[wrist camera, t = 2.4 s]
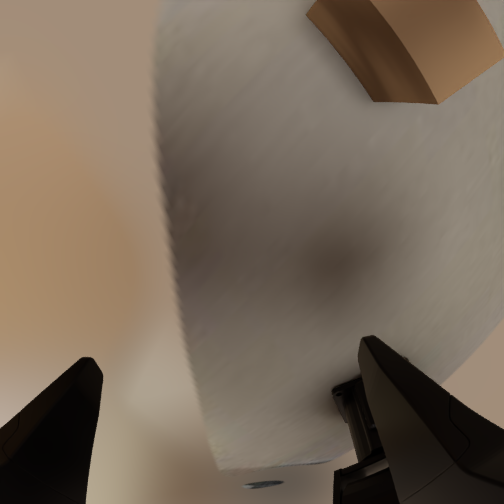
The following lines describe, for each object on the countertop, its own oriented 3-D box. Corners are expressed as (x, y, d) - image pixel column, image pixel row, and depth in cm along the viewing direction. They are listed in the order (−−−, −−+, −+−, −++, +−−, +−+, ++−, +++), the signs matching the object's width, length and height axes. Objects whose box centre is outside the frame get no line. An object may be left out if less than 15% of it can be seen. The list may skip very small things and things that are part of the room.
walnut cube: (437, 60, 10) (506, 55, 5) (372, 102, 11) (438, 104, 6) (380, -20, 8) (433, -56, 3) (305, 15, 9) (340, -31, 5)
